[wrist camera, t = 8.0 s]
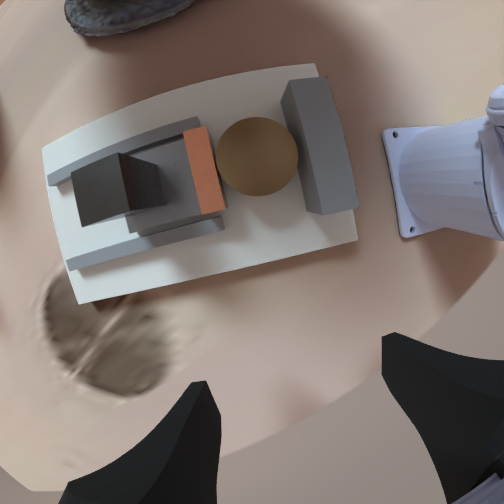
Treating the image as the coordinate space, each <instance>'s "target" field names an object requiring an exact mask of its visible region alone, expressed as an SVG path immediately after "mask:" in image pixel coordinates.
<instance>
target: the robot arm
mask: <svg viewBox="0 0 504 504" xmlns="http://www.w3.org/2000/svg"><path fill="white" fill-rule="evenodd" d="M486 112H487V115H486V116H482V117H477V118H473V119H469V120H465V121H461V122H457V123H453V124H449V125H446V126H431V127H406V128H391V129H386V130H384V131H383V132H382V138H383V142H384V146H385V150H386V155H387V159H388V164H389V168H390V173H391V179H392V184H393V189H394V195H395V201H396V208H397V215H398V222H399V230H400V235H401V236H402V237H404V238H409V237H413V236H417V235H420V234H424V233H427V232H431V231H434V230H438V229H441V228H445V227H447V228H451V229H456V230H460V231H464V232H469V233H473V234H477V235H481V236H485V237H489V238H493V239H496V240H500V241H504V84H503V85H501V86H499V87H498V88H496V89H495V90H494V91H493V92H492V93H491V94H490V97H489V102H488V105H487V107H486ZM393 132H394V133H395V135H396V138H394V137H393ZM411 227H412V228H413V229H412V232H411V233H410V228H411ZM382 376H383V378H384V380H385V382H386V384H387V386H388V388H389V390H390V392H391V393H392V395H393V396H394V398H395V399H396V401H397V402H398V403H399V405H400V406H401V408H402V409H403V410H404V412H405V413H406V415H407V416H408V417H409V418H410V420H411V422H412V423H413V424H414V426H415V427H416V429H417V430H418V432H419V434H420V436H421V437H422V440H423V441H424V443H425V445H426V447H427V449H428V452H429V454H430V456H431V458H432V461H433V463H434V465H435V468H436V470H437V473H438V476H439V478H440V481H441V484H442V487H443V490H444V494H445V497H446V501H447V504H504V360H487V359H479V358H473V357H467V356H463V355H458V354H455V353H451V352H447V351H444V350H441V349H438V348H435V347H432V346H430V345H427V344H424V343H422V342H419V341H417V340H414V339H412V338H409V337H407V336H404V335H401V334H399V333H396V332H394V333H391V334H388V335H385V336H383V337H382ZM220 445H221V414H220V412H219V410H218V407H217V405H216V403H215V401H214V398H213V396H212V394H211V391H210V389H209V387H208V384H207V382H206V381H199V382H192V383H191V384H190V385H189V386H188V388H187V389H186V390H185V392H184V393H183V394H182V396H181V397H180V398H179V400H178V401H177V402H176V404H175V405H174V406H173V407H172V409H171V410H170V411H169V412H168V414H167V415H166V416H165V417H164V418H163V419H162V420H161V421H160V423H159V424H158V425H157V426H156V427H155V428H154V429H153V430H152V431H151V432H150V433H149V434H148V435H147V436H146V437H145V438H144V439H143V440H142V441H140V442H139V443H138V444H137V445H136V446H135V447H133V448H132V449H131V450H129V451H128V452H126V453H125V454H124V455H122V456H121V457H119V458H118V459H117V460H115V461H113V462H112V463H110V464H108V465H107V466H105V467H103V468H101V469H99V470H97V471H95V472H93V473H91V474H88V475H86V476H83V477H81V478H78V479H75V480H73V481H70V482H68V484H67V486H66V489H65V491H64V493H63V495H62V497H61V499H60V501H59V503H58V504H217V494H216V493H217V491H216V484H217V472H218V463H219V454H220Z"/></svg>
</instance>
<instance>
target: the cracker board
mask: <svg viewBox="0 0 504 504" xmlns="http://www.w3.org/2000/svg"><path fill="white" fill-rule="evenodd" d="M250 117H264V118H268V119H271V120H274V121H276V122H278V123H279V124H281V125H282V126H284V127H285V128H286V129H287V130H288V131H289V132H290V134H291V135H292V137H293V138H294V140H295V143H296V146H297V149H298V165H297V169H296V171H295V174H294V176H293V177H292V179H291V180H290V181H289V183H288V184H287V185H286V186H284V187H283V188H282V189H280V190H279V191H277V192H275V193H273V194H270V195H266V196H248V195H244V194H242V193H239V192H238V191H236V190H234V189H233V188H232V187H230V186H229V185H228V184H227V183H226V182H225V180H224V179H223V178H222V176H221V179H222V183H223V188H224V192H225V196H226V200H227V204H228V207H227V208H226V209H224V210H220V211H216V212H212V213H208V214H204V215H202V214H200V215H196V216H192V217H188V218H185V219H181V220H177V221H173V222H170V223H166V224H163V225H159V226H155V227H152V228H148V229H145V230H141V231H138V232H135V233H131V234H129V230H128V226H127V222H126V218H125V217H124V218H120V219H115V220H111V221H107V222H103V223H98V224H94V225H90V226H86V227H82V226H81V222H80V218H79V213H78V209H77V204H76V200H75V195H74V189H73V184H72V178H71V172H73V171H75V170H77V169H79V168H81V167H84V166H86V165H88V164H90V163H93V162H95V161H97V160H100V159H102V158H104V157H107V156H109V155H112V154H114V153H117V152H119V153H122V154H125V155H128V156H134V155H137V154H140V153H142V152H145V151H148V150H151V149H154V148H157V147H160V146H163V145H167V144H170V143H173V142H176V141H180V140H183V139H184V135H183V132H184V131H187V130H191V129H194V128H198V127H202V126H206V127H207V129H208V131H209V133H210V134H211V137H212V141H213V145H214V150H215V154H216V149H217V145H218V143H219V140H220V138H221V136H222V135H223V133H224V132H225V131H226V130H227V129H228V128H229V127H230V126H231V125H233V124H234V123H236V122H238V121H240V120H242V119H245V118H250ZM42 155H43V164H44V172H45V179H46V185H47V191H48V197H49V202H50V207H51V212H52V217H53V221H54V225H55V230H56V234H57V238H58V241H59V245H60V249H61V252H62V256H63V259H64V263H65V266H66V269H67V272H68V275H69V278H70V281H71V284H72V287H73V290H74V293H75V296H76V298H77V301H78V304H82V303H87V302H92V301H96V300H101V299H106V298H111V297H115V296H120V295H125V294H129V293H134V292H138V291H143V290H147V289H152V288H157V287H161V286H166V285H170V284H175V283H179V282H184V281H188V280H192V279H197V278H201V277H206V276H210V275H214V274H219V273H223V272H227V271H232V270H236V269H240V268H245V267H249V266H253V265H258V264H262V263H266V262H270V261H275V260H279V259H283V258H287V257H291V256H295V255H300V254H304V253H308V252H312V251H316V250H320V249H324V248H328V247H333V246H337V245H341V244H345V243H349V242H353V241H357V240H358V236H357V229H356V223H355V217H354V212H353V209H356V208H360V206H359V201H358V195H357V190H356V185H355V180H354V175H353V171H352V166H351V162H350V157H349V153H348V149H347V145H346V141H345V137H344V133H343V129H342V126H341V122H340V118H339V115H338V111H337V108H336V105H335V101H334V98H333V95H332V92H331V89H330V85H329V82H328V79H327V76H325V77H320V76H319V74H318V71H317V68H316V65H315V63H309V64H298V65H289V66H280V67H273V68H266V69H260V70H254V71H248V72H243V73H238V74H233V75H228V76H223V77H219V78H215V79H210V80H206V81H203V82H199V83H195V84H191V85H188V86H184V87H181V88H178V89H174V90H171V91H168V92H165V93H162V94H159V95H156V96H153V97H150V98H147V99H144V100H142V101H139V102H136V103H134V104H131V105H129V106H126V107H124V108H121V109H119V110H116V111H114V112H112V113H109V114H107V115H105V116H103V117H100V118H98V119H96V120H94V121H92V122H90V123H88V124H86V125H83V126H81V127H79V128H77V129H76V130H74V131H72V132H70V133H68V134H66V135H64V136H62V137H60V138H59V139H57V140H55V141H53V142H52V143H50V144H48V145H46V146H45V147H43V148H42ZM220 175H221V174H220Z"/></svg>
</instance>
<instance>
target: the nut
mask: <svg viewBox="0 0 504 504" xmlns="http://www.w3.org/2000/svg"><path fill="white" fill-rule="evenodd" d="M216 163H217V167H218V170H219V172H220V174H221V176H222V178H223V179H224V180H225V182H226V183H227V184H228V185H229V186H230V187H232V188H233V189H234V190H236V191H238V192H239V193H242V194H244V195H248V196H266V195H270V194H273V193H275V192H277V191H279V190H280V189H282V188H283V187H284V186H286V185H287V184H288V183H289V181H290V180H291V179H292V177H293V176H294V174H295V171H296V169H297V165H298V149H297V146H296V143H295V140H294V138H293V137H292V135H291V134H290V132H289V131H288V130H287V129H286V128H285V127H284V126H282V125H281V124H279V123H278V122H276V121H274V120H271V119H268V118H264V117H250V118H245V119H242V120H240V121H238V122H236V123H234V124H233V125H231V126H230V127H229V128H228V129H227V130H226V131H225V132H224V133H223V135H222V136H221V138H220V140H219V143H218V145H217V149H216Z"/></svg>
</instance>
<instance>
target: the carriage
mask: <svg viewBox="0 0 504 504" xmlns="http://www.w3.org/2000/svg"><path fill="white" fill-rule="evenodd" d="M183 135H184V139H183V140H180V141H176V142H173V143H170V144H167V145H163V146H160V147H157V148H154V149H151V150H148V151H145V152H142V153H140V154H137V155H134V156H128V155H125V154H122V153H119V152H117V153H114V154H112V155H109V156H107V157H104V158H102V159H100V160H97V161H95V162H93V163H90V164H88V165H86V166H84V167H81V168H79V169H77V170H75V171H73V172H71V178H72V184H73V189H74V195H75V200H76V204H77V209H78V213H79V218H80V222H81V226H82V227H86V226H90V225H94V224H98V223H103V222H107V221H111V220H115V219H120V218H124V217H125V218H126V222H127V226H128V230H129V234H131V233H135V232H138V231H141V230H145V229H148V228H152V227H155V226H159V225H163V224H166V223H170V222H173V221H177V220H181V219H185V218H188V217H192V216H196V215H200V214H202V215H204V214H208V213H212V212H216V211H220V210H224V209H226V208H227V207H228V204H227V200H226V196H225V192H224V188H223V183H222V179H221V175H220V172H219V170H218V167H217V163H216V154H215V150H214V145H213V141H212V137H211V134H210V133H209V131H208V129H207V127H206V126H202V127H198V128H194V129H191V130H187V131H184V132H183Z"/></svg>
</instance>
